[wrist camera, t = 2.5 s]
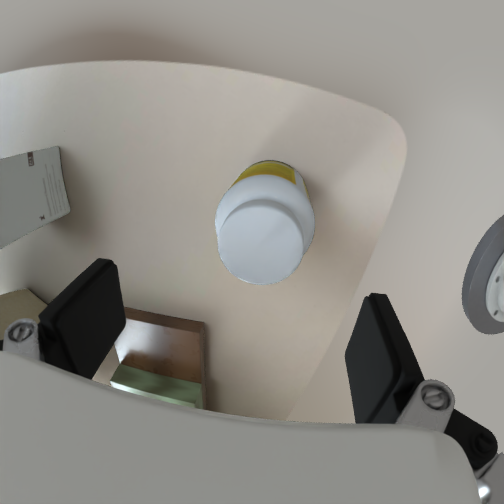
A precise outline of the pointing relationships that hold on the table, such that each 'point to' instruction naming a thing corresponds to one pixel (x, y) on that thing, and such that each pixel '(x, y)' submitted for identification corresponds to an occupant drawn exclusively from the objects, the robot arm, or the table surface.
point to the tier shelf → (162, 358)
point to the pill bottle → (265, 223)
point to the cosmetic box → (30, 193)
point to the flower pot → (19, 308)
